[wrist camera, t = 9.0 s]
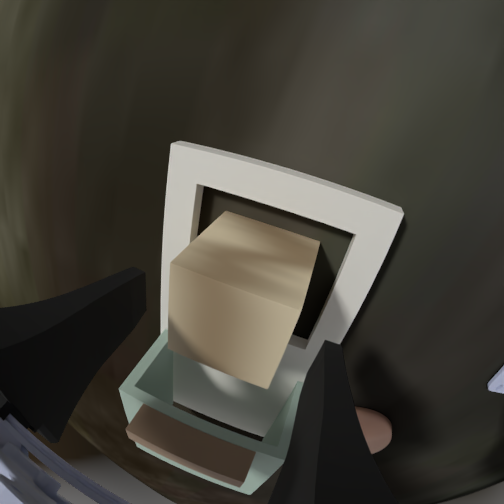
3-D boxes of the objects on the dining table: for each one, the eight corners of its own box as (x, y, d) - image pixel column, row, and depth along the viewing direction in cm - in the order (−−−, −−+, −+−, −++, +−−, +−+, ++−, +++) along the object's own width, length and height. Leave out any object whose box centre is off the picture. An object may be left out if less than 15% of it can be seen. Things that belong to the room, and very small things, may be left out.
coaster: (409, 417, 17) (410, 427, 16) (364, 455, 21) (363, 463, 20) (321, 395, 18) (319, 405, 17) (290, 436, 22) (287, 444, 21)
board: (401, 207, 11) (403, 214, 11) (278, 433, 22) (276, 441, 21) (180, 140, 13) (171, 143, 12) (167, 389, 23) (163, 395, 23)
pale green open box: (307, 384, 16) (275, 491, 10) (269, 441, 21) (241, 514, 15) (165, 328, 18) (100, 413, 12) (166, 399, 22) (125, 463, 17)
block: (320, 241, 13) (301, 310, 9) (293, 314, 16) (267, 389, 12) (226, 210, 14) (170, 262, 10) (213, 286, 16) (167, 348, 12)
